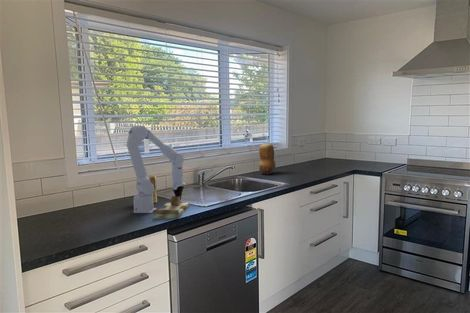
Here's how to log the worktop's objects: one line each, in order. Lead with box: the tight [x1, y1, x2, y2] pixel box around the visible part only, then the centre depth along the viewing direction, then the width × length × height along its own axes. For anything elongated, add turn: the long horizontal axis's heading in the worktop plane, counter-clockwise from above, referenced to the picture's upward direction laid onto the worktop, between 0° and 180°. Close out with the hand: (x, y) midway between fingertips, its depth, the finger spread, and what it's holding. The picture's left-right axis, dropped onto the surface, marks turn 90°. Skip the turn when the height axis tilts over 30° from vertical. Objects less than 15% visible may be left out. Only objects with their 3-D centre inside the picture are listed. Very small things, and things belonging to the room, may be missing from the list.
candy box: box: [147, 175, 158, 204], centre depth 197 cm, size 9×4×15 cm, turn 96°
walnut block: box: [170, 195, 181, 206], centre depth 184 cm, size 4×4×4 cm
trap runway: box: [153, 202, 190, 219], centre depth 177 cm, size 12×22×4 cm, turn 175°
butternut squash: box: [258, 142, 276, 175], centre depth 280 cm, size 14×13×25 cm
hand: (178, 199), depth 190 cm, fingers closed
